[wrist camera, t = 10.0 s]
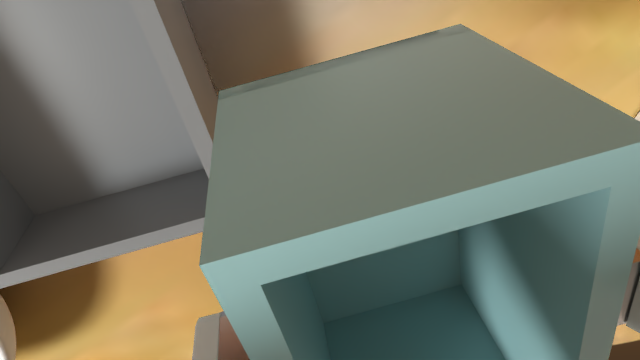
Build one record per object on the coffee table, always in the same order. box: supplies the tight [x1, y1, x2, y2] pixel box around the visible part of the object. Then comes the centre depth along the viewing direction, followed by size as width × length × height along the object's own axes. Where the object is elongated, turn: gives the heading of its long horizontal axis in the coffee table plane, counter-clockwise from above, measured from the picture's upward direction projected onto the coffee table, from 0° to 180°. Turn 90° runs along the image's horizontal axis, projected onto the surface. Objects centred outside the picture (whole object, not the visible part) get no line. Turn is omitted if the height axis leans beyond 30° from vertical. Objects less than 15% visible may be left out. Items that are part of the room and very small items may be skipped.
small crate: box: [199, 24, 640, 360], centre depth 10 cm, size 6×9×6 cm, turn 13°
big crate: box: [0, 0, 218, 289], centre depth 24 cm, size 16×21×7 cm
